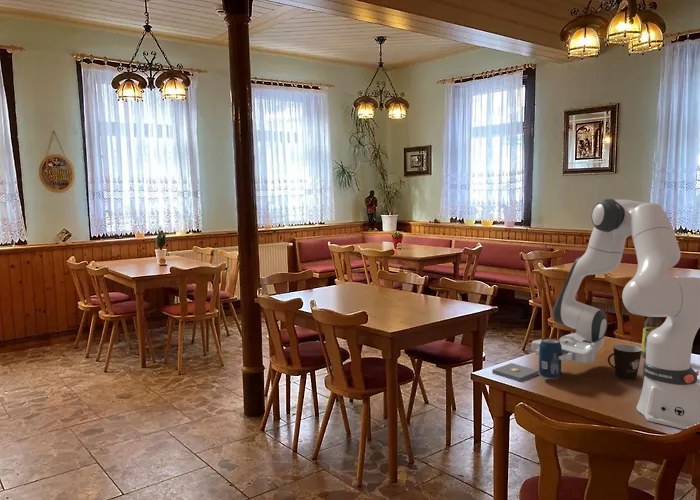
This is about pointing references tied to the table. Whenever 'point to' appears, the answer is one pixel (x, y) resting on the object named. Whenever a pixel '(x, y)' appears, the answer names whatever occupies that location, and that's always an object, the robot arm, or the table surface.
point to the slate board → (515, 372)
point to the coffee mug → (626, 361)
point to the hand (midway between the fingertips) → (548, 355)
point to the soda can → (550, 358)
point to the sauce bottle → (649, 330)
